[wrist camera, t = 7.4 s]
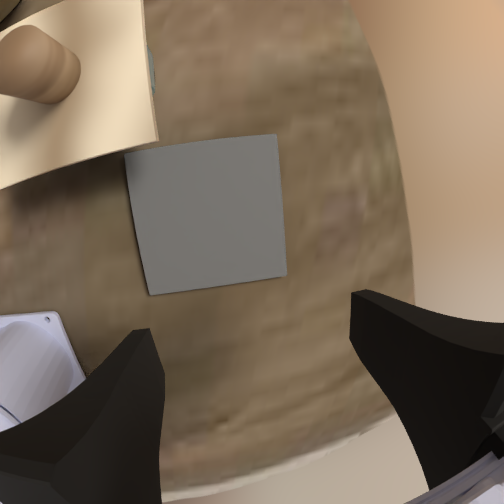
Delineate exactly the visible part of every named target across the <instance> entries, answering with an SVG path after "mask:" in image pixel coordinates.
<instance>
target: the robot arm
mask: <svg viewBox="0 0 504 504" xmlns="http://www.w3.org/2000/svg"><path fill="white" fill-rule="evenodd" d="M47 317H49V318H50V320H49V319H47ZM349 339H350V341H351V343H352V345H353V347H354V349H355V351H356V353H357V355H358V357H359V358H360V360H361V361H362V363H363V364H364V366H365V367H366V369H367V370H368V371H369V373H370V374H371V376H372V377H373V378H374V380H375V381H376V382H377V384H378V385H379V386H380V388H381V389H382V391H383V392H384V393H385V395H386V396H387V398H388V399H389V400H390V402H391V404H392V405H393V407H394V408H395V410H396V412H397V414H398V416H399V417H400V420H401V422H402V423H403V425H404V427H405V429H406V432H407V434H408V436H409V438H410V440H411V442H412V444H413V446H414V449H415V451H416V454H417V456H418V459H419V461H420V464H421V466H422V469H423V472H424V475H425V478H426V481H427V484H428V487H429V491H428V492H426V493H424V494H423V495H420V496H419V497H417V498H415V499H413V500H411V501H409V502H406V503H405V504H504V323H492V322H482V321H474V320H467V319H462V318H457V317H452V316H447V315H443V314H440V313H436V312H432V311H429V310H426V309H423V308H420V307H417V306H414V305H411V304H408V303H406V302H403V301H400V300H397V299H395V298H392V297H389V296H386V295H384V294H381V293H378V292H375V291H371V290H367V289H365V290H361V291H356V292H352V293H351V317H350V336H349ZM164 401H165V373H164V370H163V367H162V365H161V362H160V359H159V356H158V353H157V350H156V347H155V344H154V341H153V338H152V335H151V331H150V328H147V329H139V330H133V331H132V332H131V333H130V334H129V335H128V336H127V337H126V338H125V339H124V340H123V341H122V342H121V343H120V344H119V345H118V346H117V348H116V349H115V350H114V351H113V352H112V353H111V354H110V355H109V356H108V357H107V358H106V359H105V360H104V362H103V363H102V364H101V365H100V366H98V367H97V368H96V369H95V370H94V371H93V372H92V373H91V374H90V375H89V376H88V377H87V378H86V377H85V375H84V373H83V371H82V369H81V366H80V364H79V362H78V360H77V358H76V355H75V353H74V351H73V348H72V346H71V344H70V341H69V339H68V337H67V334H66V332H65V329H64V326H63V324H62V321H61V319H60V316H59V314H58V313H57V312H55V311H47V312H36V313H24V314H12V315H0V504H162V499H161V488H160V473H159V446H160V437H161V428H162V419H163V410H164Z"/></svg>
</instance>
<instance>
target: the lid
mask: <svg viewBox="0 0 504 504" xmlns="http://www.w3.org/2000/svg"><path fill="white" fill-rule="evenodd" d="M155 142H159V137H158V131H157V124H156V118H155V111H154V103H153V96H152V88H151V80H150V72H149V63H148V54H147V43H146V32H145V20H144V7H143V0H65V1H62V2H60V3H58V4H55V5H53V6H51V7H49V8H46V9H44V10H42V11H40V12H38V13H36V14H34V15H32V16H30V17H28V18H26V19H24V20H22V21H20V22H18V23H16V24H14V25H12V26H11V27H9V28H7V29H5V30H3V31H2V32H0V189H4V188H7V187H10V186H12V185H15V184H18V183H20V182H23V181H25V180H28V179H31V178H34V177H36V176H39V175H42V174H45V173H48V172H51V171H54V170H57V169H60V168H63V167H66V166H69V165H72V164H75V163H79V162H82V161H85V160H89V159H92V158H96V157H99V156H103V155H106V154H110V153H114V152H118V151H121V150H125V149H129V148H134V147H138V146H142V145H146V144H151V143H155Z"/></svg>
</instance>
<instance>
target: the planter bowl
mask: <svg viewBox="0 0 504 504" xmlns="http://www.w3.org/2000/svg"><path fill="white" fill-rule="evenodd" d="M19 1H20V0H0V22H1V21H2V20H3V19H4V18H5V17H6V16H7V15H8V14H9V13H10V12H11V11H12V10H13V9H14V7H15V6H16V5H17V4H18V3H19Z"/></svg>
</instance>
